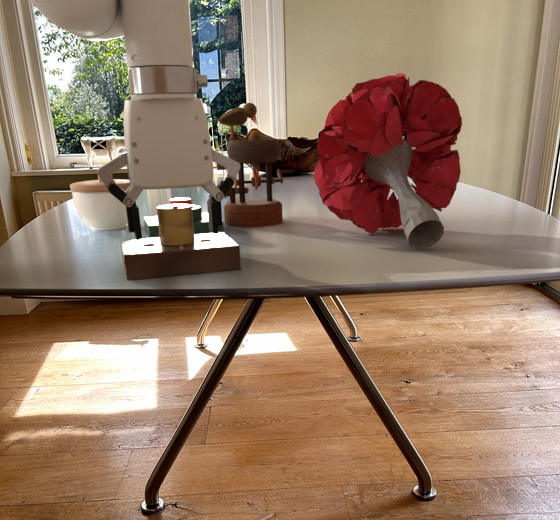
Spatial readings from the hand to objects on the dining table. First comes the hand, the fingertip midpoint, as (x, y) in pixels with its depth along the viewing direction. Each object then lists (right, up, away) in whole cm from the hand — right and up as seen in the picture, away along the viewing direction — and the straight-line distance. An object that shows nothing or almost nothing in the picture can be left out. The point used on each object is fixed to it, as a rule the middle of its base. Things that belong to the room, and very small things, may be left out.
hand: (176, 235), depth 76 cm
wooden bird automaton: (+9, +9, +32) cm, 34 cm away
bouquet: (+30, +4, +18) cm, 35 cm away
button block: (-3, +6, +25) cm, 26 cm away
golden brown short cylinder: (0, -1, 0) cm, 1 cm away
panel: (0, -4, +2) cm, 4 cm away
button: (-3, +10, +23) cm, 25 cm away
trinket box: (-18, +8, +31) cm, 36 cm away
